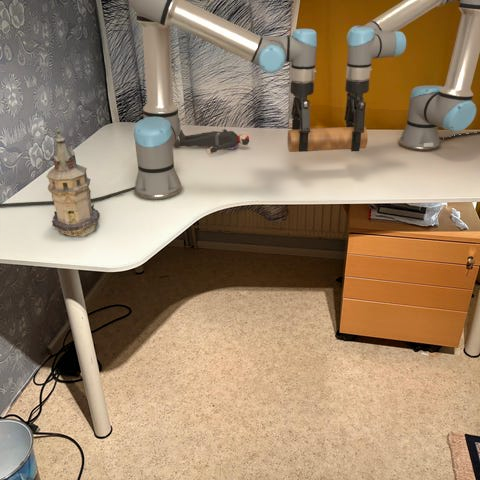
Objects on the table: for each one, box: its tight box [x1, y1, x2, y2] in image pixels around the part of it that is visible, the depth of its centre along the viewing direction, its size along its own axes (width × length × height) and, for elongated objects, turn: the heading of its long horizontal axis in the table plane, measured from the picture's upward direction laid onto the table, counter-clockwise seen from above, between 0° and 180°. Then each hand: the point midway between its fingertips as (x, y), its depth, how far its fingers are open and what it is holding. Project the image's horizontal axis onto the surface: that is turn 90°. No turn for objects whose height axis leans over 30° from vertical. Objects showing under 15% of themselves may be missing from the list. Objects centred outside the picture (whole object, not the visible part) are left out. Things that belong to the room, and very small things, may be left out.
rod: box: [286, 125, 369, 153], centre depth 182 cm, size 26×7×7 cm, turn 95°
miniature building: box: [46, 129, 101, 237], centre depth 148 cm, size 13×14×30 cm
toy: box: [173, 128, 250, 154], centre depth 214 cm, size 26×6×30 cm
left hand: (299, 144), depth 182 cm, fingers open, 13 cm apart
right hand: (352, 146), depth 184 cm, fingers closed on rod, 7 cm apart
